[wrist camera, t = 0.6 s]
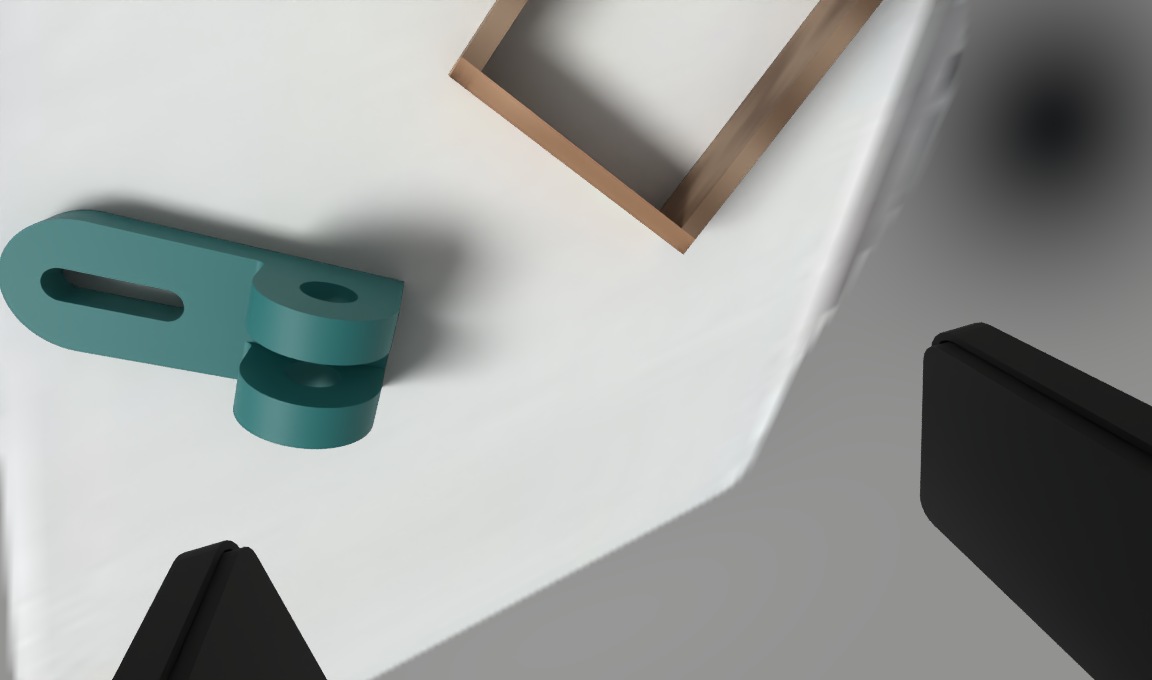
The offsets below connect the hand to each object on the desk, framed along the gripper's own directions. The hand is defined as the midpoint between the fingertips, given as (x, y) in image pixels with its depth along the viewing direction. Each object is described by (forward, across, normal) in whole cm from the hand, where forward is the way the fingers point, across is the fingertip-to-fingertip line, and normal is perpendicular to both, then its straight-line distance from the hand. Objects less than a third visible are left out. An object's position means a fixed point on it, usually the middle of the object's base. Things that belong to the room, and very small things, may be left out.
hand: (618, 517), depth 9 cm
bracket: (+29, +16, +3) cm, 33 cm away
